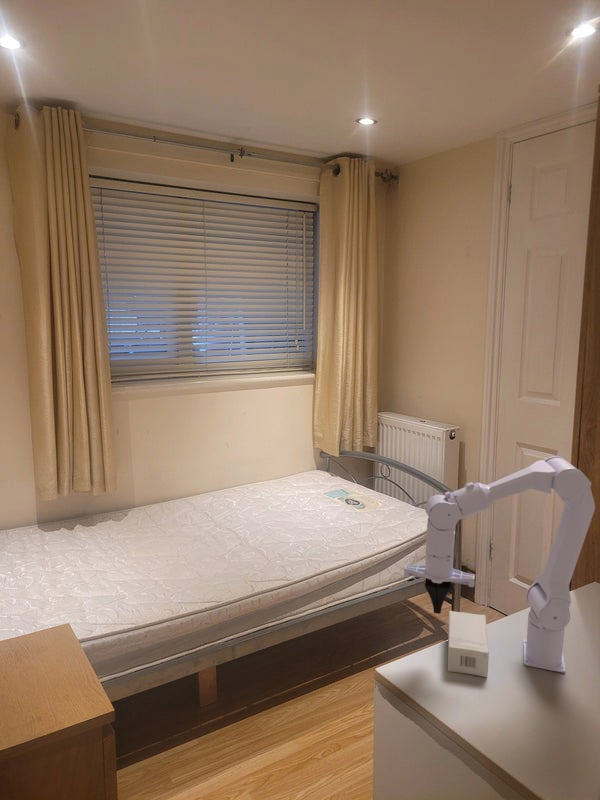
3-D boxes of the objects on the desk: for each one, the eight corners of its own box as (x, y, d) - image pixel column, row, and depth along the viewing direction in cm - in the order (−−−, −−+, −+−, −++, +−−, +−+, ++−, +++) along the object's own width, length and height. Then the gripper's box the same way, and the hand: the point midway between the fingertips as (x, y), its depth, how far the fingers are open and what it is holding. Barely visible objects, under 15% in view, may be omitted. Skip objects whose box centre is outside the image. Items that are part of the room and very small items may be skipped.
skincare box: (487, 678, 119) (486, 638, 133) (489, 651, 118) (487, 614, 132) (445, 671, 121) (448, 632, 135) (446, 645, 120) (449, 608, 134)
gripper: (402, 555, 121) (400, 614, 124) (474, 565, 116) (471, 627, 119) (407, 541, 128) (406, 598, 130) (476, 550, 123) (473, 609, 125)
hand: (437, 611), depth 125 cm, fingers closed
